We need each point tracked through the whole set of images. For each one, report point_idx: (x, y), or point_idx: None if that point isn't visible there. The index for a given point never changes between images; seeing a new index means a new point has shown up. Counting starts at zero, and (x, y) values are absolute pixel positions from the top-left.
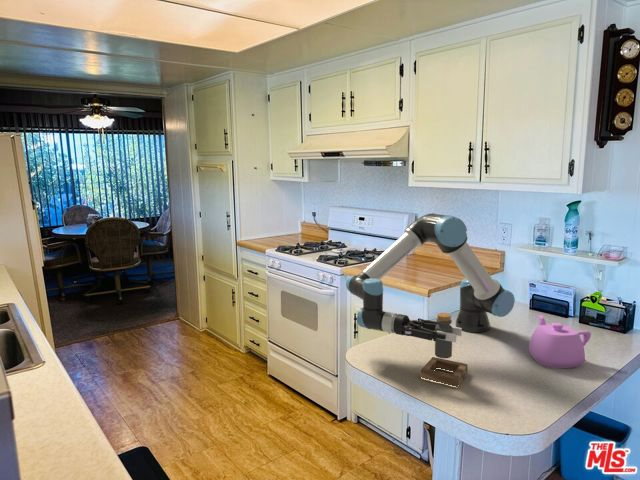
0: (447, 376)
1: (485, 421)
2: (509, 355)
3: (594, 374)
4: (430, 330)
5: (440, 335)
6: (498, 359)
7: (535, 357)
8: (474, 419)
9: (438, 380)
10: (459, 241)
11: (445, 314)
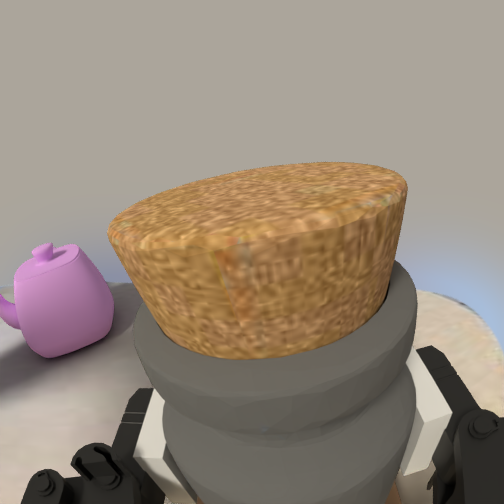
0: (394, 483)
1: (467, 337)
2: (42, 398)
3: (124, 292)
4: (483, 495)
5: (455, 377)
6: (67, 419)
7: (81, 339)
8: (482, 351)
9: None
10: None
11: (222, 186)
